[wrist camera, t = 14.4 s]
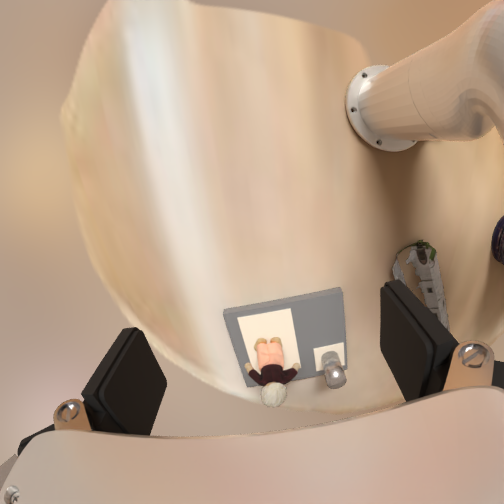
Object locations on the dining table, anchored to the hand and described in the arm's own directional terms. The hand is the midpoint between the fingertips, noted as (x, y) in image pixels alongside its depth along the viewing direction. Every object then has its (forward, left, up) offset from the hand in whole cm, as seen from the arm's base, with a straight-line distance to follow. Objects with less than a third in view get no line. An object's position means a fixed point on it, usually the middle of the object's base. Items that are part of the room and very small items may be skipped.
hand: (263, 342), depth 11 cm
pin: (-6, +27, -28) cm, 40 cm away
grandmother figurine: (+3, +22, -29) cm, 36 cm away
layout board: (0, +23, -30) cm, 38 cm away
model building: (-24, +22, -31) cm, 45 cm away
